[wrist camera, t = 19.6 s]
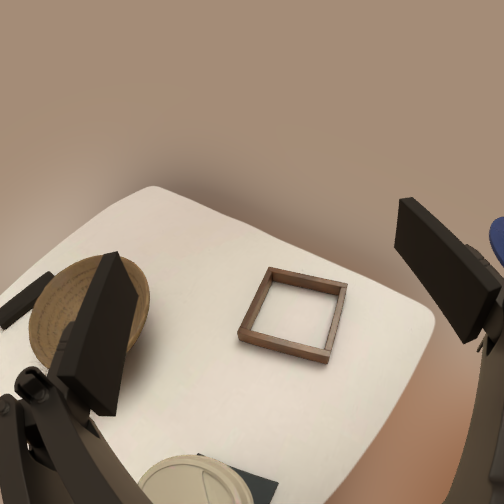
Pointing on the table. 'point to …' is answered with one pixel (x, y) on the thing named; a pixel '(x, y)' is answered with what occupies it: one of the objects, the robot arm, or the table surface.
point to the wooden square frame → (281, 344)
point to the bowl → (77, 305)
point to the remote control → (23, 300)
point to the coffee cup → (194, 482)
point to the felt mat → (257, 486)
